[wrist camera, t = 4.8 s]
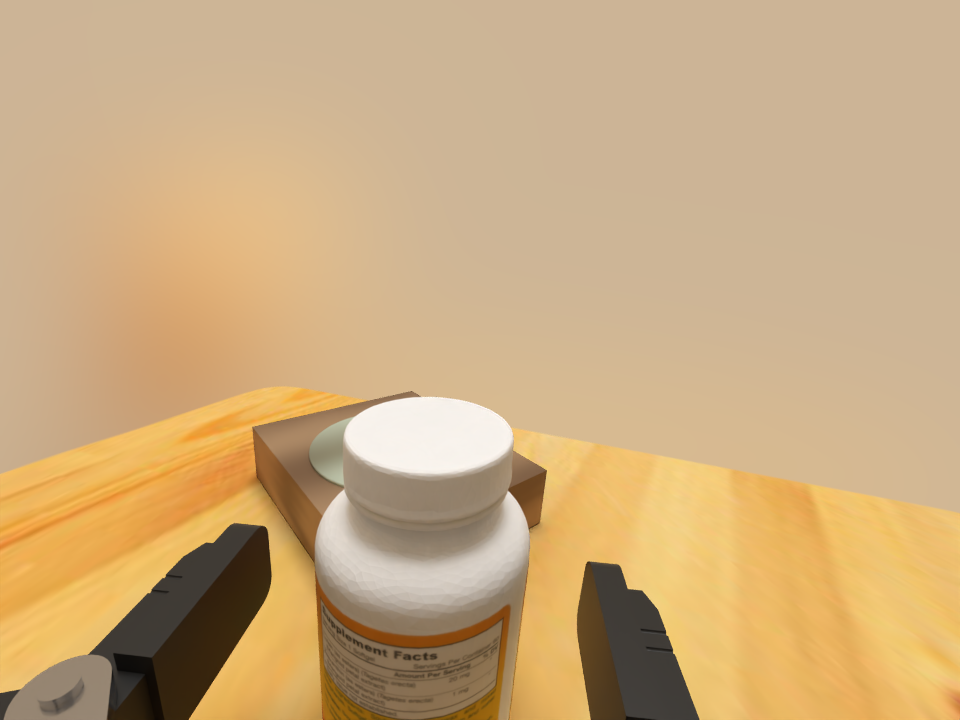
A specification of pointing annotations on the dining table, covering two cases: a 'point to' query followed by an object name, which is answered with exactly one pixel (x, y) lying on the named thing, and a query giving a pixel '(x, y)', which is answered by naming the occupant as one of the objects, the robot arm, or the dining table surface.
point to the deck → (319, 467)
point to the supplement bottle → (422, 566)
